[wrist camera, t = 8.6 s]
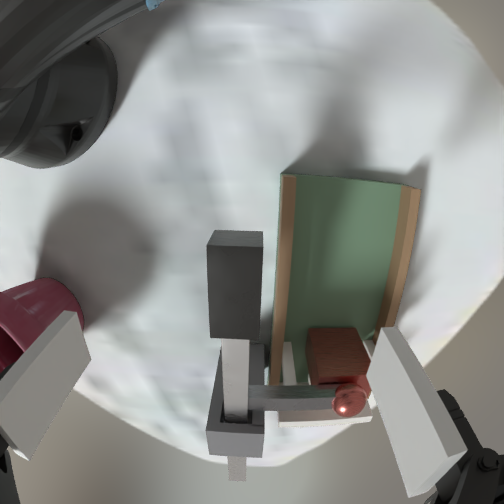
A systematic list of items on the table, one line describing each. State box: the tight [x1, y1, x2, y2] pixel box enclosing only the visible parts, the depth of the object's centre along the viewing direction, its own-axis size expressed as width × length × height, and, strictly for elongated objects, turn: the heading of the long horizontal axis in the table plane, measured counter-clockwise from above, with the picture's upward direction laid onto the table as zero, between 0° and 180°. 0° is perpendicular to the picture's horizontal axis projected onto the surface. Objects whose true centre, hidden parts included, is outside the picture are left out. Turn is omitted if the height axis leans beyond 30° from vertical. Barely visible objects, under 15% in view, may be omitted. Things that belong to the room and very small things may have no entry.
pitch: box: [206, 173, 421, 458], centre depth 24 cm, size 24×17×12 cm
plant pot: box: [0, 278, 84, 373], centre depth 25 cm, size 14×14×13 cm
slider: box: [207, 230, 371, 481], centre depth 25 cm, size 28×13×10 cm, turn 178°
